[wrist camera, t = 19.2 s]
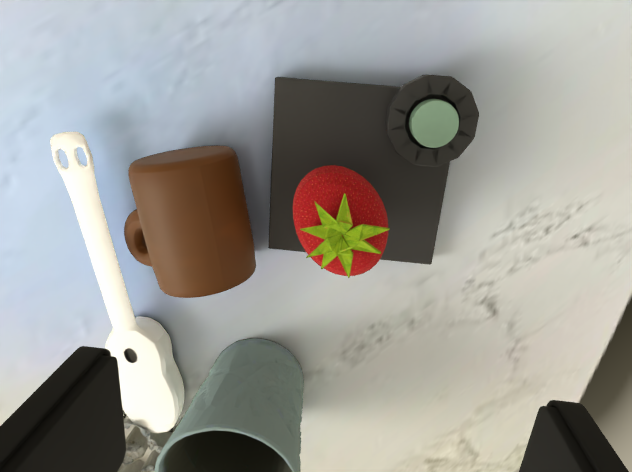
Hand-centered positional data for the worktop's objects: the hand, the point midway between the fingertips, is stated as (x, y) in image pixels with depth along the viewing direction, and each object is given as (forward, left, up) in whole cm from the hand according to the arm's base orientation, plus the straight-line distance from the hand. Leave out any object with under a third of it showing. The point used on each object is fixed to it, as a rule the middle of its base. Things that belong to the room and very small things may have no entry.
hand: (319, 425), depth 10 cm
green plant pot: (+20, -6, -26) cm, 34 cm away
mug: (-1, -13, -23) cm, 27 cm away
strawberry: (+2, 0, -25) cm, 25 cm away
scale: (0, +1, -26) cm, 26 cm away
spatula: (+12, -18, -26) cm, 34 cm away
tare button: (-5, +6, -24) cm, 25 cm away
